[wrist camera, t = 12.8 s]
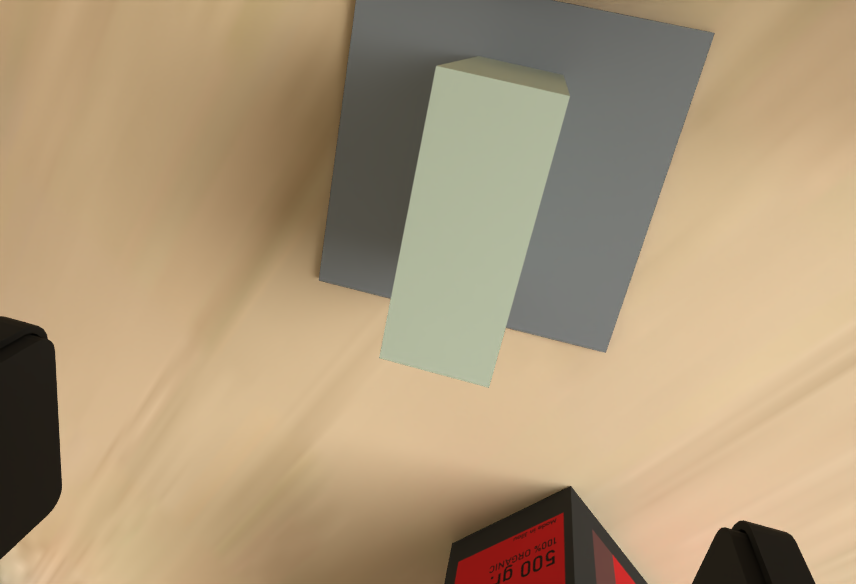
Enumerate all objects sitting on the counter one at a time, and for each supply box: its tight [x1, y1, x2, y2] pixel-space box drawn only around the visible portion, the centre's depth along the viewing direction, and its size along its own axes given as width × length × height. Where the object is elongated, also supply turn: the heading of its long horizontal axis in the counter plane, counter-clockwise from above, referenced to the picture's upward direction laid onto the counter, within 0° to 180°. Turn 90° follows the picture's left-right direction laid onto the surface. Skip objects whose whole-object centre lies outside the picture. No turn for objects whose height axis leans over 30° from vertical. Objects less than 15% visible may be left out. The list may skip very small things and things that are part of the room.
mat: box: [319, 0, 715, 353], centre depth 32 cm, size 16×16×1 cm
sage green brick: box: [379, 56, 570, 388], centre depth 26 cm, size 4×10×12 cm, turn 169°
